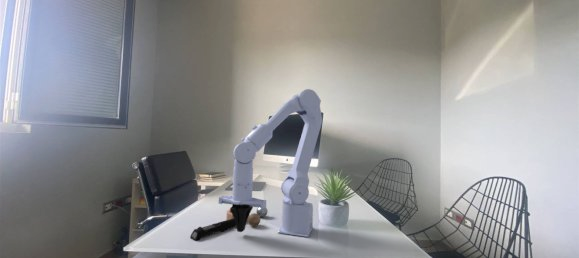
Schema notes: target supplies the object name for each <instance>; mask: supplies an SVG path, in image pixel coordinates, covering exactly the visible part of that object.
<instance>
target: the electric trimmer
mask: <svg viewBox="0 0 579 258" xmlns="http://www.w3.org/2000/svg"><path fill="white" fill-rule="evenodd" d="M234 227H237V226H236V222H235V219H234V218H233V219H229V220H226V219H225V220H223V221H219V222H215V223H212V224H209V225H205V226H198V227H197V228H194V229H193V231H192V232H191V235H190V236H189V237H190V239H191V240H192V241H194V242H196V241H200V240H201V239H202V238H205V237H208V236H212V235H213V234H214V235H215V234H217V233H223V232H226V231H228V230H231V229H232V228H234Z"/></svg>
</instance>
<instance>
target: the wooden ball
mask: <svg viewBox="0 0 579 258" xmlns="http://www.w3.org/2000/svg"><path fill="white" fill-rule="evenodd" d="M247 223H248V225H250V226H251V227H253V228H254V227H258V225H260V223H261V217H260V216H259V215H258V214H257V212H256V213H255V212H253V213H250V214H249V218H248V221H247Z"/></svg>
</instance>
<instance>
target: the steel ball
mask: <svg viewBox="0 0 579 258" xmlns="http://www.w3.org/2000/svg"><path fill="white" fill-rule="evenodd" d="M256 208H257V209H256V214H258V215H259V216H260V218H264V217H266V216H267V215H268V208H267V206H266V207H265V208H264V209H261V208H259V207H256Z"/></svg>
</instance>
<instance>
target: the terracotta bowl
mask: <svg viewBox="0 0 579 258" xmlns="http://www.w3.org/2000/svg"><path fill="white" fill-rule="evenodd" d="M249 216H250V215H249ZM249 216H248V218H249ZM225 218H226V219H225V221H226V220H229V219H233V218H234V216H233V214H232V212H231V211H230V209H228V210H226V217H225ZM247 222H248V219H247Z"/></svg>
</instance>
